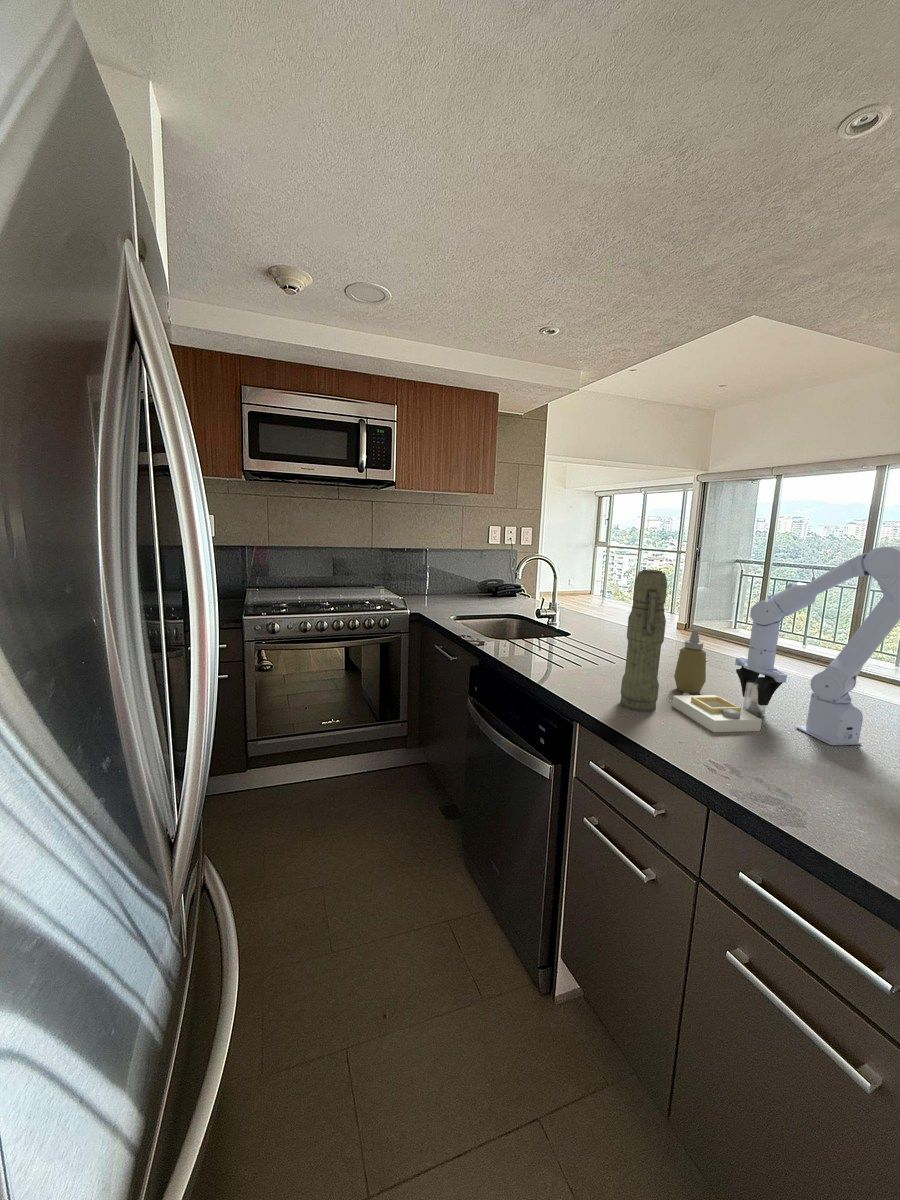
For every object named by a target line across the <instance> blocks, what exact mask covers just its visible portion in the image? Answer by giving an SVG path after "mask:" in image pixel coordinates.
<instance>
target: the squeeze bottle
mask: <svg viewBox="0 0 900 1200" xmlns="http://www.w3.org/2000/svg"><path fill="white" fill-rule="evenodd" d="M703 648H704V642H702V641H700V635H699V629H698V628H693V630H692V632H691V634H690V637H689V639H687V640H685V641H684V647H681V648H680V649H679V653H678V654H679V655H678V658H677V662H676V667H675V670H674V676H673V677H674V682H675V686H676V690H678V691H679V692H683V693H685V692H686V693H688V694H690V695H698V694H699V693H701V692H702V689H703V687H704V685H705V683H706V681H707V680H706V678H707V677H706V676H707V675H706V674H707V665H706V664H707V652H706V651H705V650H704V649H703Z"/></svg>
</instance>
